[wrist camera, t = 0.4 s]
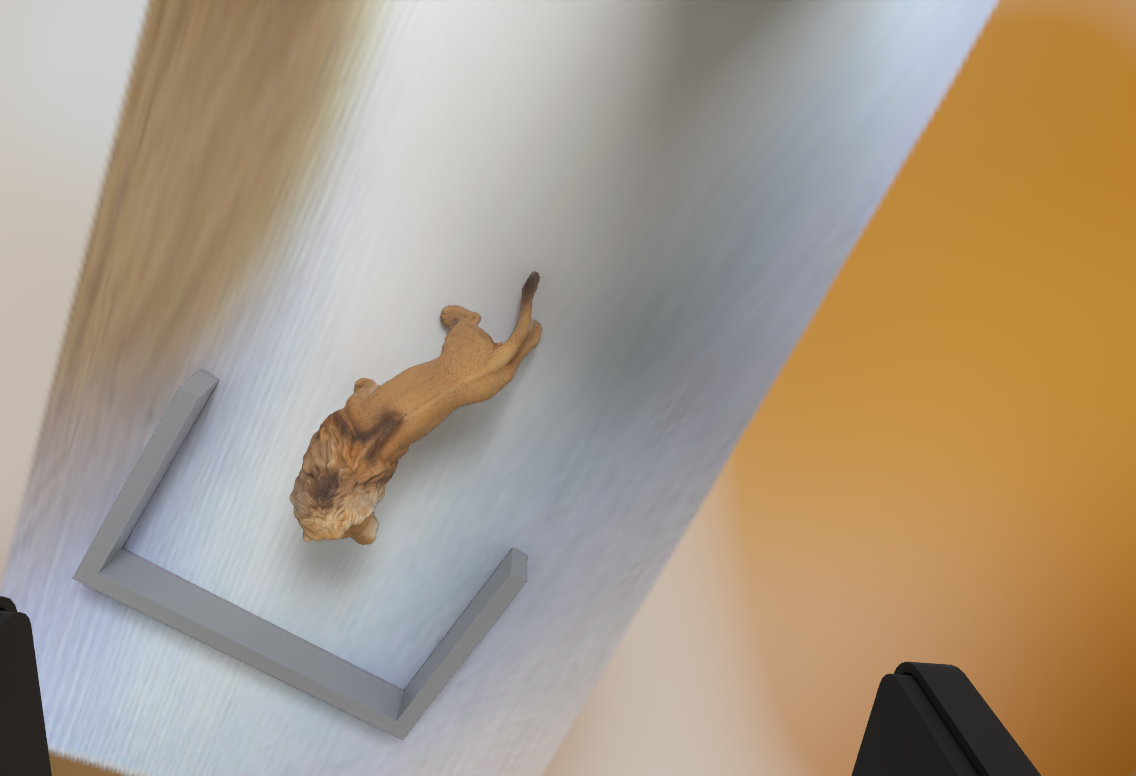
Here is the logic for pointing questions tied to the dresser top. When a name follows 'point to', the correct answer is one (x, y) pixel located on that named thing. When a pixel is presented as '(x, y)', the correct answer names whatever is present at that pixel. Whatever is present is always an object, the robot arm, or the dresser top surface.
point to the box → (253, 635)
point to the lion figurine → (400, 422)
